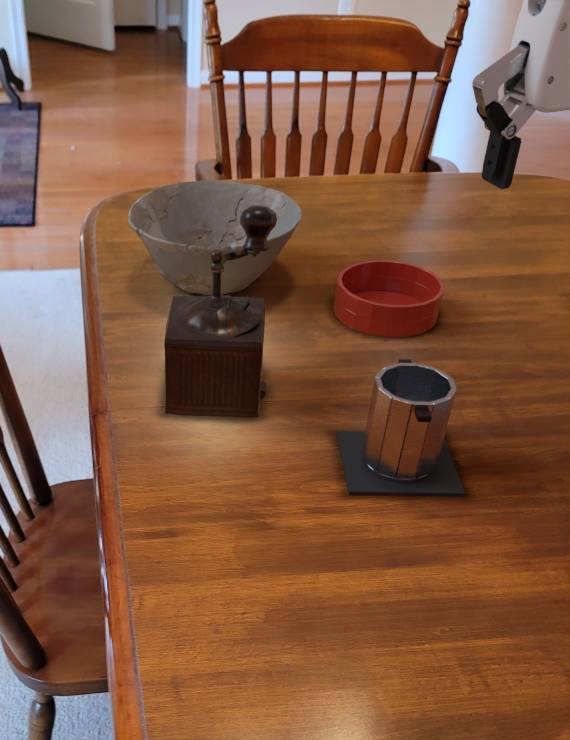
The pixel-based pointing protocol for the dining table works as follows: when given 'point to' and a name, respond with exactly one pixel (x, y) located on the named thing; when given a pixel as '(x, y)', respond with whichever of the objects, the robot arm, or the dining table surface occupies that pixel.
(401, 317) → the shallow red bowl
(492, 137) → the robot arm
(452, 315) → the dining table surface
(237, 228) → the ceramic bowl
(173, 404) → the manual coffee grinder
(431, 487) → the rubber mat
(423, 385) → the steel pot
